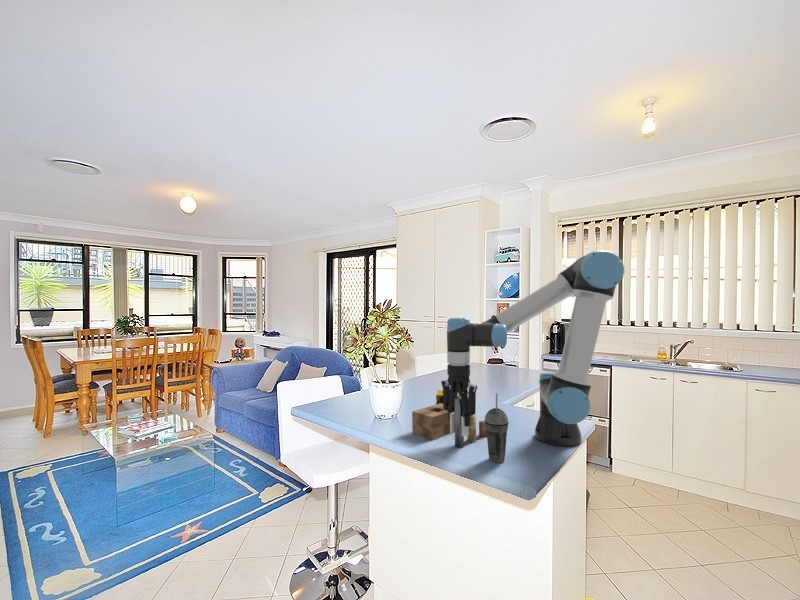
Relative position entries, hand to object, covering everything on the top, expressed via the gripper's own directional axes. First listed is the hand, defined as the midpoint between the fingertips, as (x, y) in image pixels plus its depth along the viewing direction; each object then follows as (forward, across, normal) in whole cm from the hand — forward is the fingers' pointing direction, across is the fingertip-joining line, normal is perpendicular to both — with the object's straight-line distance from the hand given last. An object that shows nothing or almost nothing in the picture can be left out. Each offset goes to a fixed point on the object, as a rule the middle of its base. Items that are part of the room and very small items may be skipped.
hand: (459, 433), depth 130 cm
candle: (+4, +24, -24) cm, 34 cm away
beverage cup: (+4, -15, +1) cm, 16 cm away
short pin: (+4, 0, -14) cm, 15 cm away
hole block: (+4, +15, -6) cm, 17 cm away
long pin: (+4, 0, 0) cm, 4 cm away
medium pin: (+4, 0, -7) cm, 8 cm away
